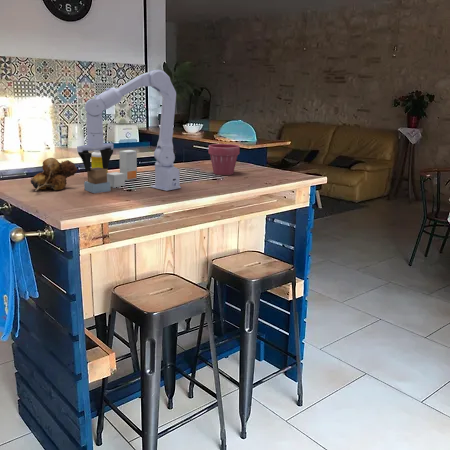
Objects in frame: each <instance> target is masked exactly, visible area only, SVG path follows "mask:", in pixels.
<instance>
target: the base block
mask: <svg viewBox="0 0 450 450" xmlns="http://www.w3.org/2000/svg"><path fill="white" fill-rule="evenodd" d="M83 184H84V191H86V192H88V193H92V194H99V193H105V192H111V188H112V187H110V182H106V183H100V184H94V183H90V182H88V180H87V181H84V183H83Z"/></svg>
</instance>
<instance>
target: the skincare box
mask: <svg viewBox="0 0 450 450" xmlns="http://www.w3.org/2000/svg"><path fill="white" fill-rule="evenodd" d="M118 152H119V173H123V174H125V182H126V181H127V182H128V181H133V180H137V179H138V178H137V177H138V175H137V173H138V167H137V166H138V165H137V163H138V162H137V161H138V159H137V158H138V156H137V154H138V153H137V150H132V149H127V150H125V149H124V150H119V151H118Z"/></svg>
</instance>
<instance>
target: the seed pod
mask: <svg viewBox="0 0 450 450" xmlns="http://www.w3.org/2000/svg"><path fill="white" fill-rule="evenodd" d="M42 170H43V171H42V172H38V173H36V175H34V176H33V177H31V180H30V184H32V186H33V188H34V191H35V192H37V191H38V190H42V191H43V190H46V189H47V188H51V189H53V191H58V190H63V189H66V186H67V179H68V178H70V177H73V176H75V174H76V173H77V172H78V170H79V169H78V168H77V166H76V165H75V163H74V162H72V161H70V160H68V159H66V160H64V161H63V160H61V162H59V161H58V159H56V158H54V157H48V158H46V159H44V160H43V161H42Z"/></svg>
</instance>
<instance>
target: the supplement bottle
mask: <svg viewBox="0 0 450 450" xmlns="http://www.w3.org/2000/svg"><path fill="white" fill-rule="evenodd" d="M93 149H98V148H93ZM91 153H92V155H91V162H90V164H91V168H97V167H99V168H103V166H102V156H101V152H100V150H94V151H93V152H92V151H91ZM108 171H109V170H108V169H107V173H109V172H108Z"/></svg>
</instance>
